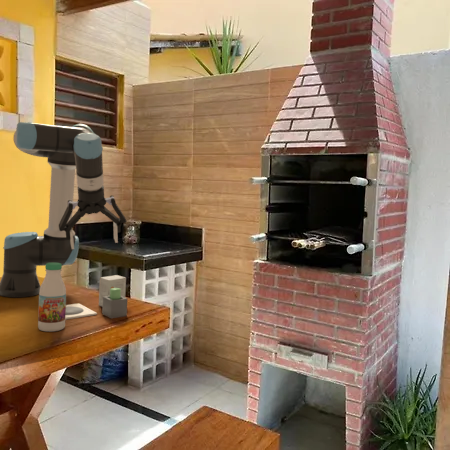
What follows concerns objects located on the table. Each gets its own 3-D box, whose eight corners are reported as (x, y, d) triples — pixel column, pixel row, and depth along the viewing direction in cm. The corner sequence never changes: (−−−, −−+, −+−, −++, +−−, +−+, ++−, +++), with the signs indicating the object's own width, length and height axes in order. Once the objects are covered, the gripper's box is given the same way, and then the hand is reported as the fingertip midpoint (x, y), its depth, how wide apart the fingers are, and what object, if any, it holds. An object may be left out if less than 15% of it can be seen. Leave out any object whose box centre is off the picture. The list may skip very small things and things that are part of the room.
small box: (115, 302, 174) (117, 274, 174) (125, 305, 171) (126, 277, 170) (98, 305, 168) (99, 277, 167) (107, 308, 165) (108, 280, 164)
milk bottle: (33, 327, 140) (35, 262, 139) (58, 322, 146) (60, 260, 144) (44, 334, 135) (46, 266, 133) (69, 329, 140) (71, 264, 139)
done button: (107, 302, 158) (108, 288, 157) (117, 301, 160) (117, 287, 160) (112, 305, 155) (113, 290, 155) (122, 304, 158) (123, 289, 157)
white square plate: (39, 310, 158) (39, 308, 158) (78, 304, 167) (78, 303, 167) (56, 321, 148) (56, 318, 147) (96, 314, 157) (96, 312, 157)
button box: (102, 313, 158) (103, 296, 158) (117, 311, 162) (118, 294, 162) (110, 318, 154) (111, 300, 153) (126, 315, 158) (127, 298, 157)
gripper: (47, 196, 129) (54, 256, 141) (135, 187, 138) (135, 244, 150) (44, 183, 134) (52, 242, 146) (129, 175, 144) (130, 231, 155)
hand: (94, 243), depth 148 cm, fingers open, 13 cm apart
